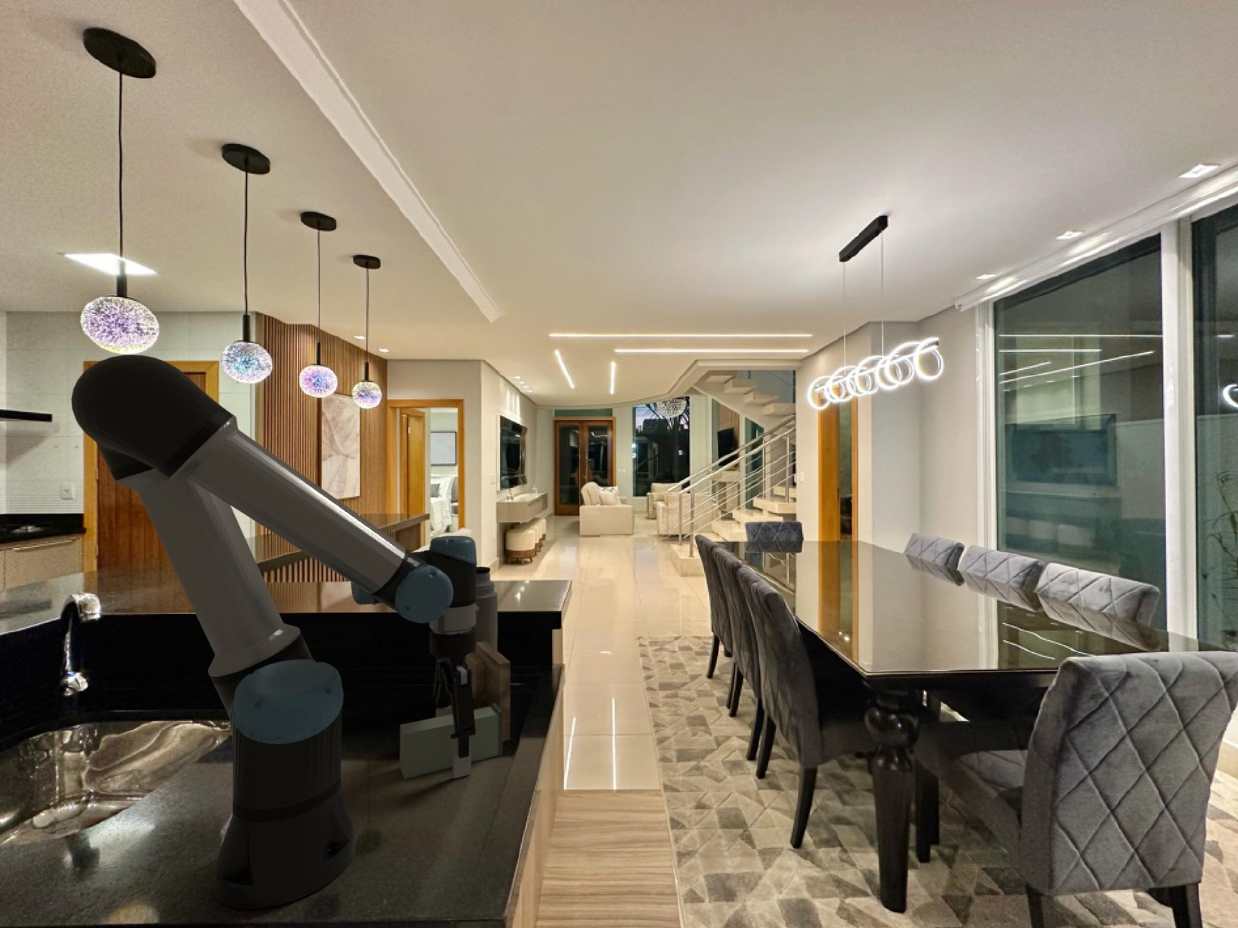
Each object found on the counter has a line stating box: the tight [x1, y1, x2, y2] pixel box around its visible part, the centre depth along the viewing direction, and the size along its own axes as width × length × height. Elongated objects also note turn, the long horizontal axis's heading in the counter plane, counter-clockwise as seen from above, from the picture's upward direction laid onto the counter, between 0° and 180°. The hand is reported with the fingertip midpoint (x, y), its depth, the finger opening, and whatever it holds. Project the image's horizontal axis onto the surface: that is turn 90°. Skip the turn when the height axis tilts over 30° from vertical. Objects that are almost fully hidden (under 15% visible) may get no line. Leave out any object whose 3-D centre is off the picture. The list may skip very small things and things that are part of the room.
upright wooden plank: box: [448, 641, 511, 742], centre depth 110 cm, size 9×16×14 cm, turn 30°
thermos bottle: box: [464, 566, 499, 663], centre depth 124 cm, size 8×8×28 cm
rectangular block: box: [399, 703, 504, 780], centre depth 97 cm, size 16×4×7 cm, turn 120°
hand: (452, 759), depth 97 cm, fingers open, 11 cm apart
